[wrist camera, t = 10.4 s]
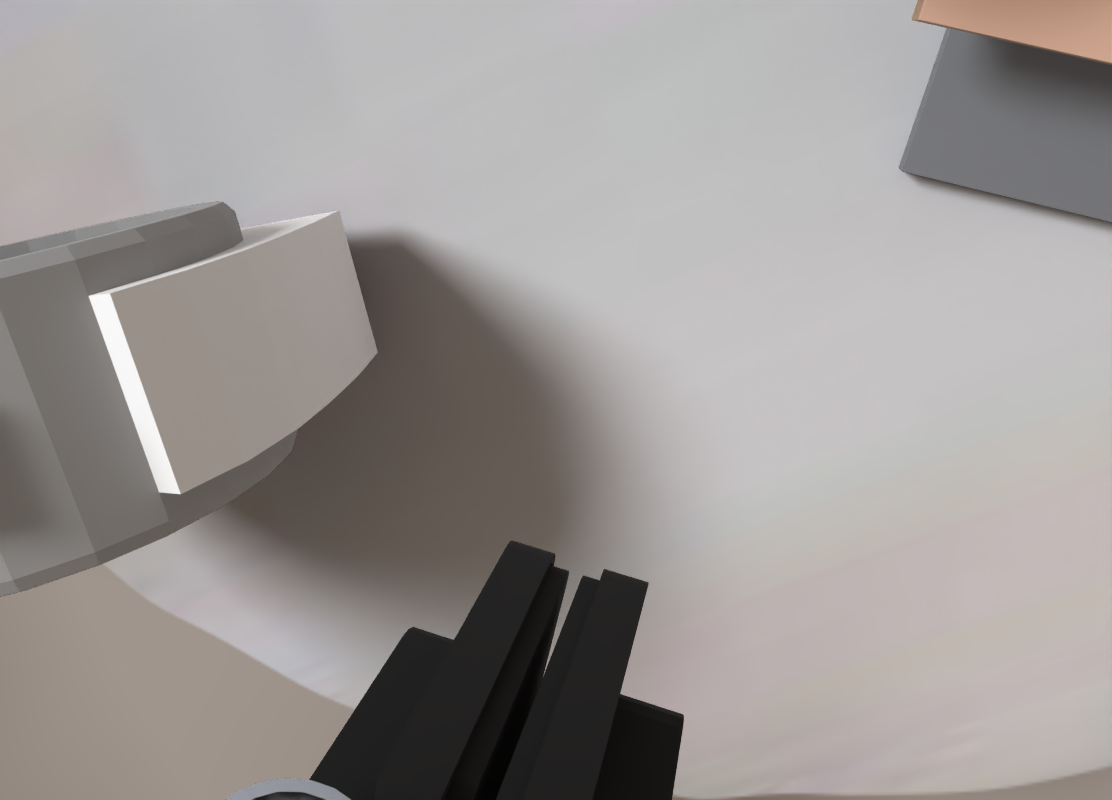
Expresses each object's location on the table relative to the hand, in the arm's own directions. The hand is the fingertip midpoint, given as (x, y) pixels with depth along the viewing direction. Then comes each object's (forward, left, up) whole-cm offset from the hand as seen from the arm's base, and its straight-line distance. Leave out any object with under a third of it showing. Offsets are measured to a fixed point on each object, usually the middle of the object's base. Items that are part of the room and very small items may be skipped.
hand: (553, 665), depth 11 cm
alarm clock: (+8, -20, -27) cm, 35 cm away
